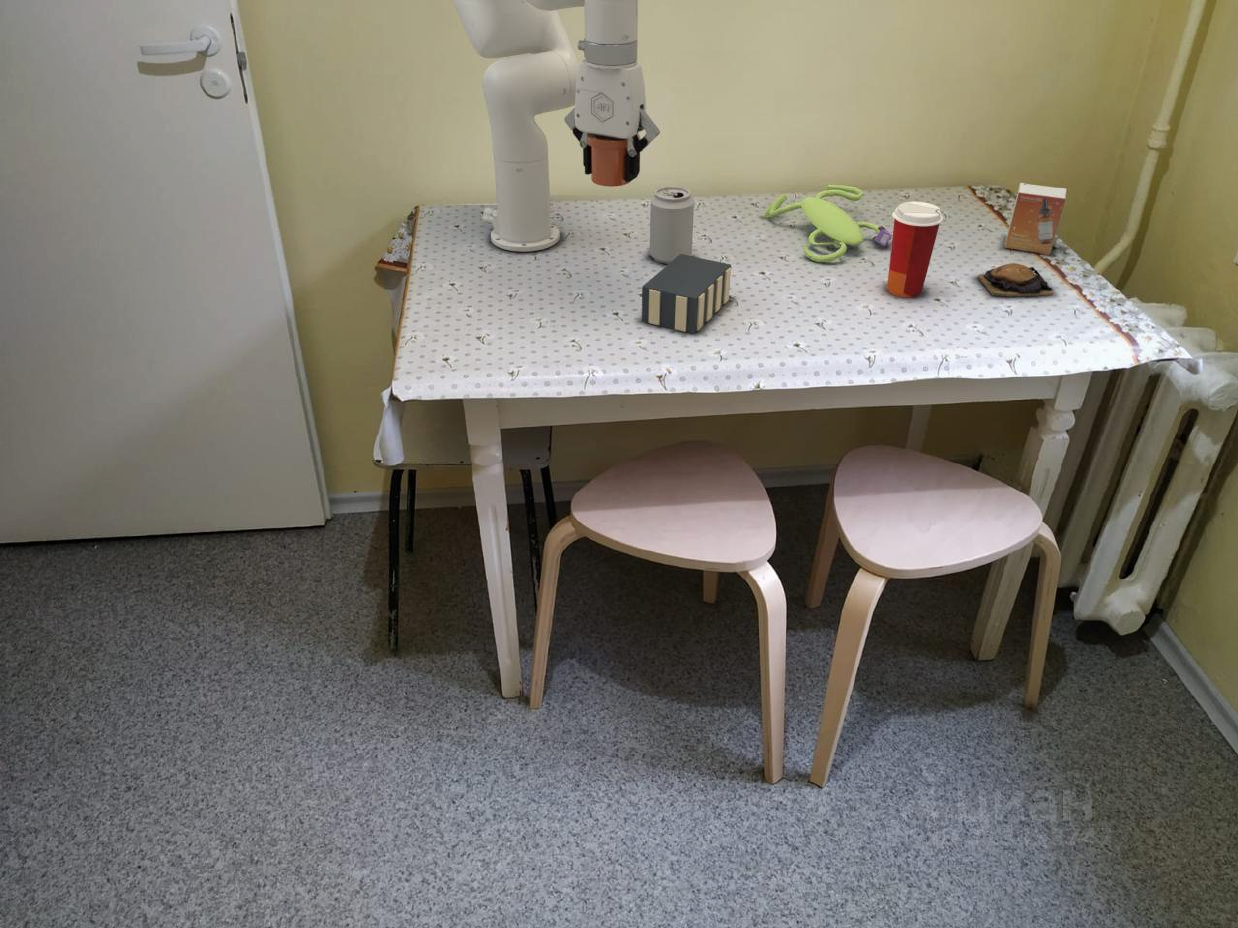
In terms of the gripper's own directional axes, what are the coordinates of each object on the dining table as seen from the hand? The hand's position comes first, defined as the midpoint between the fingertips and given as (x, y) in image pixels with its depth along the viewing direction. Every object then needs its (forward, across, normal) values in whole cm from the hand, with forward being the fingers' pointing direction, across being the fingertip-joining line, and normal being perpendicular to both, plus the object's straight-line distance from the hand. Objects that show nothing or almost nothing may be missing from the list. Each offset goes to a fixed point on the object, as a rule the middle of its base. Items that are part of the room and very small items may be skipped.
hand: (611, 174), depth 153 cm
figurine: (+20, +24, +41) cm, 51 cm away
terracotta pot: (+1, 0, 0) cm, 1 cm away
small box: (+20, +58, +52) cm, 80 cm away
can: (+20, +3, +17) cm, 26 cm away
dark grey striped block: (+20, +14, 0) cm, 24 cm away
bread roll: (+20, +59, +33) cm, 70 cm away
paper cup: (+20, +43, +23) cm, 52 cm away
